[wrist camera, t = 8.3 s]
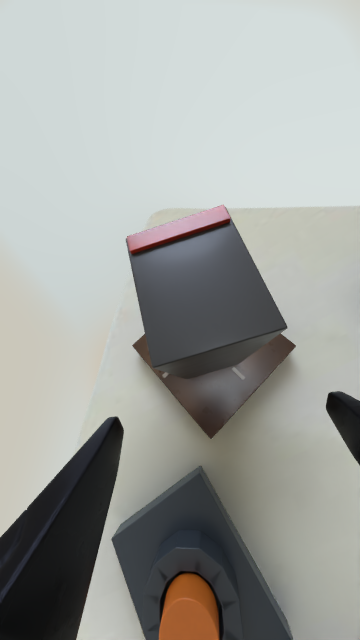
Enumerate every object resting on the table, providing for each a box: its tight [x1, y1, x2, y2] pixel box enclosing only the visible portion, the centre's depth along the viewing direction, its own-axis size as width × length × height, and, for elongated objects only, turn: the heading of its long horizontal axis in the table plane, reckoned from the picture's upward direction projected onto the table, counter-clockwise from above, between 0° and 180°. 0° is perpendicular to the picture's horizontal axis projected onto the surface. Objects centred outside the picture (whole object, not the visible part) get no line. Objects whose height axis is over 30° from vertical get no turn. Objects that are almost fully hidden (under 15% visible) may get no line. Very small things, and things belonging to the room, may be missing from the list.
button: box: [159, 573, 220, 640], centre depth 12 cm, size 4×4×2 cm
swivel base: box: [132, 333, 296, 439], centre depth 20 cm, size 13×12×2 cm
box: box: [126, 205, 287, 379], centre depth 14 cm, size 7×6×12 cm
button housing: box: [112, 466, 293, 640], centre depth 14 cm, size 11×9×4 cm
